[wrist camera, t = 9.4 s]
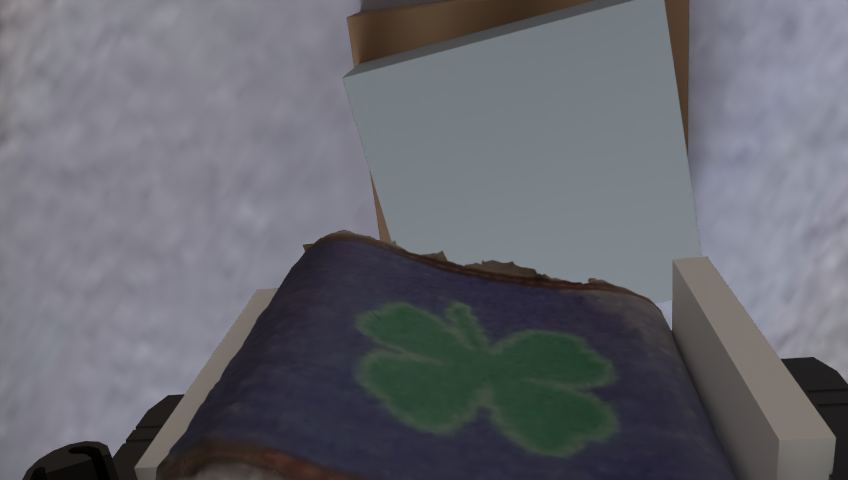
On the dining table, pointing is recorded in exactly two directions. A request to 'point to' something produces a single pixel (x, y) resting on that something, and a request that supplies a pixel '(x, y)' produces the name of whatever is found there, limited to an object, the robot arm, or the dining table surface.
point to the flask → (448, 379)
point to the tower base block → (476, 11)
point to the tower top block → (537, 146)
